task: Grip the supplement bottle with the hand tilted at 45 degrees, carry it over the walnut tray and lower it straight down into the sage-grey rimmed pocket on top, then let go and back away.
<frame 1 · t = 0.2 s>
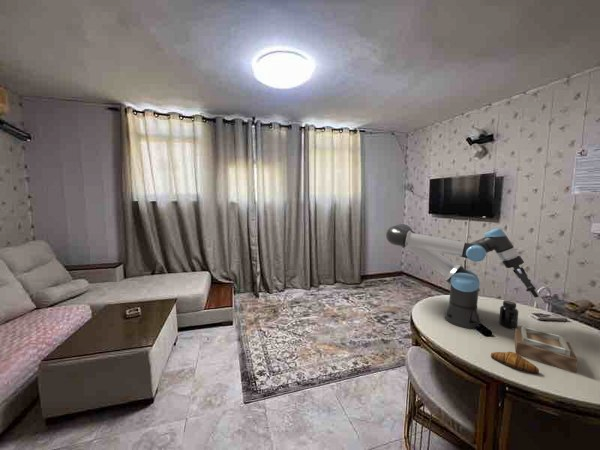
hand: (537, 299, 113), 15 cm above the table, tool tilted 30°, fingers open, 13 cm apart
supplement bottle: (507, 326, 118), on the table
croissant: (513, 366, 90), on the table
walnut tray: (541, 354, 96), on the table
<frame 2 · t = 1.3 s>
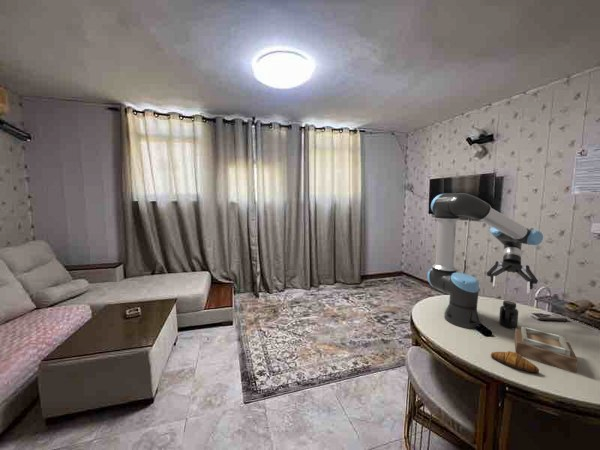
hand: (510, 290, 124), 15 cm above the table, tool tilted 45°, fingers open, 13 cm apart
nothing on the table moved.
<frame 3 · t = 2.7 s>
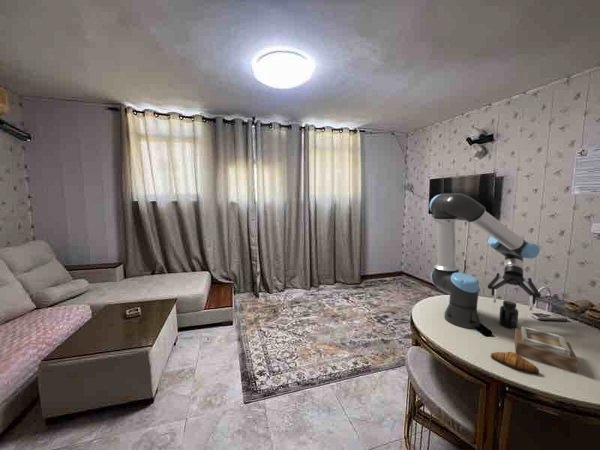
hand: (512, 305, 119), 9 cm above the table, tool tilted 45°, fingers open, 13 cm apart
nothing on the table moved.
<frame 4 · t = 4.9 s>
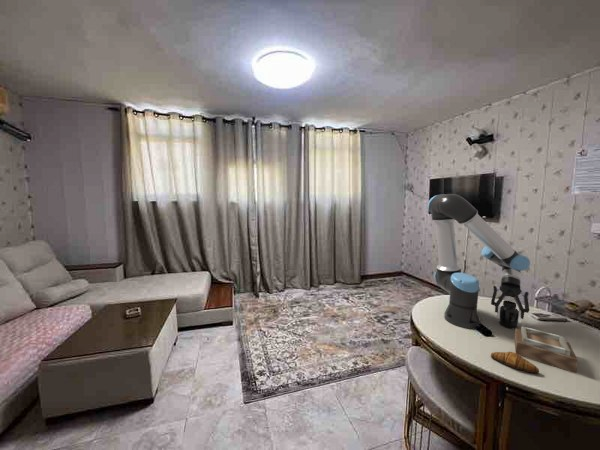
hand: (508, 321, 115), 4 cm above the table, tool tilted 45°, fingers closed on supplement bottle, 7 cm apart
supplement bottle: (507, 326, 118), on the table, touching gripper
everything else where it was.
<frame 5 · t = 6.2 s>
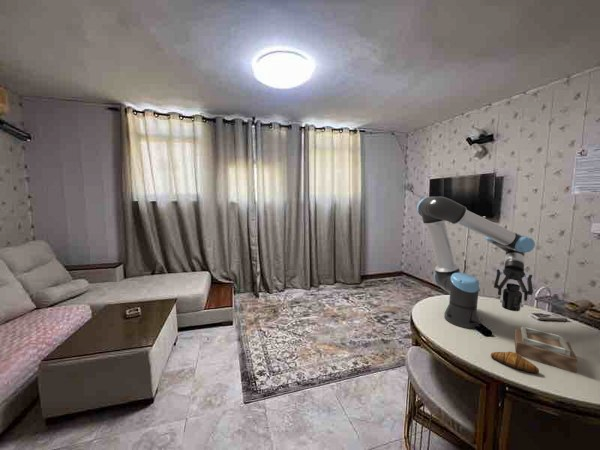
hand: (511, 303, 114), 13 cm above the table, tool tilted 45°, fingers closed on supplement bottle, 7 cm apart
supplement bottle: (510, 308, 117), point 9 cm above the table, touching gripper
everything else where it was.
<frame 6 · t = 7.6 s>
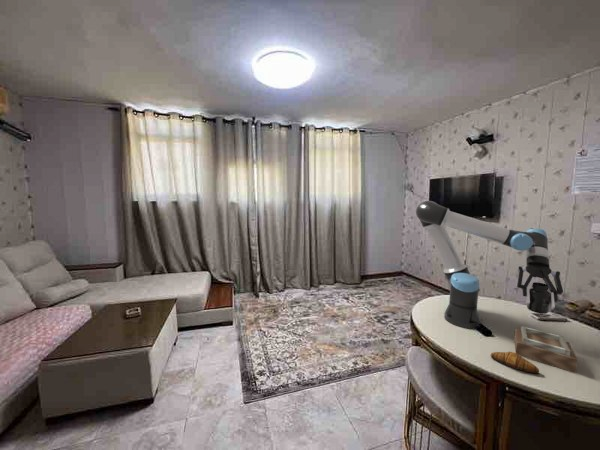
hand: (540, 305, 102), 17 cm above the table, tool tilted 40°, fingers closed on supplement bottle, 7 cm apart
supplement bottle: (537, 310, 105), point 13 cm above the table, touching gripper
everything else where it was.
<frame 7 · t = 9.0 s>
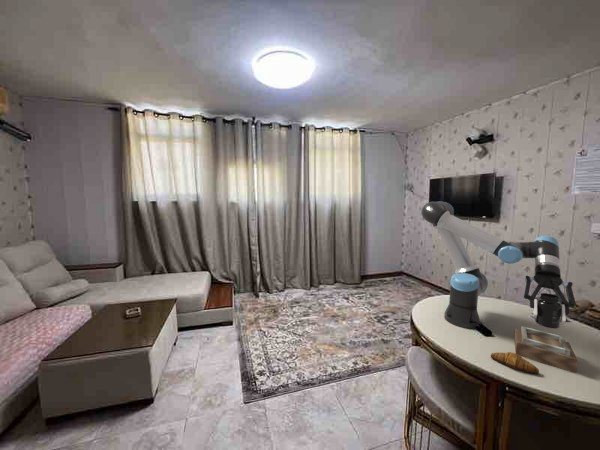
hand: (549, 318, 91), 16 cm above the table, tool tilted 45°, fingers closed on supplement bottle, 7 cm apart
supplement bottle: (546, 325, 95), point 12 cm above the table, touching gripper
everything else where it was.
when the fingers open (10 cm above the table, at t = 10.6 s): supplement bottle drops 1 cm, resting on walnut tray.
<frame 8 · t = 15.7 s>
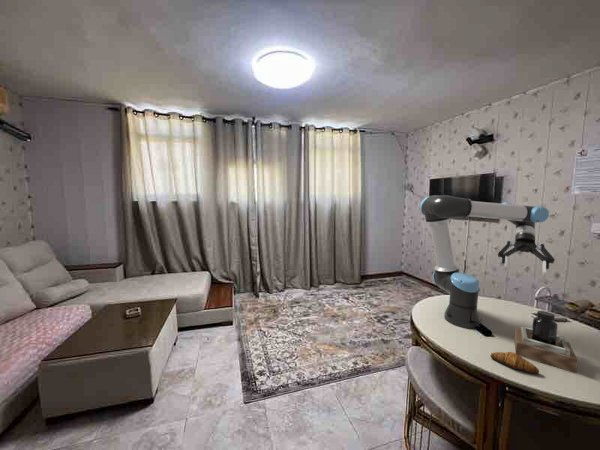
hand: (524, 271, 114), 28 cm above the table, tool tilted 45°, fingers open, 13 cm apart
supplement bottle: (542, 342, 96), point 5 cm above the table, touching walnut tray
everything else where it was.
at the end: supplement bottle 0.2 cm off-centre on the walnut tray, point 4.8 cm above the walnut tray's base; supplement bottle tilted 0°; the gripper is holding nothing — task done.
